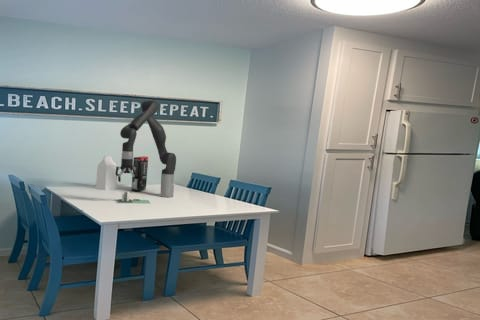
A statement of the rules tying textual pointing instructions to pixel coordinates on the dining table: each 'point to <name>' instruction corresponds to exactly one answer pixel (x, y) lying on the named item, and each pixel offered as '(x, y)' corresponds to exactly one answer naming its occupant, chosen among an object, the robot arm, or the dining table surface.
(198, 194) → the dining table surface
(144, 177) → the graphics card box
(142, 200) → the board
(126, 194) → the plug
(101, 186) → the milk
